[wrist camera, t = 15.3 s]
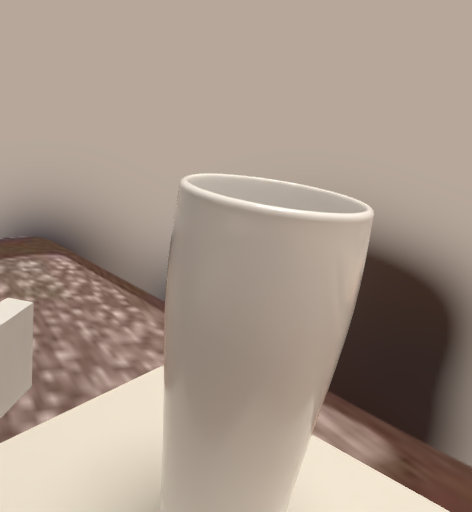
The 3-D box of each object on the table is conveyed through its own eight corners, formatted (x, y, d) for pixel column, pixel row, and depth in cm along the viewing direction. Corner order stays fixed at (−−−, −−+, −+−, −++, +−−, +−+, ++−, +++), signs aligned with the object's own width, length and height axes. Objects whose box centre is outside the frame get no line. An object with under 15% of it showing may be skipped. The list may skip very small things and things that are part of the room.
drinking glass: (291, 633, 16) (395, 229, 12) (112, 583, 17) (148, 186, 12) (296, 488, 22) (364, 194, 18) (166, 457, 23) (202, 167, 19)
